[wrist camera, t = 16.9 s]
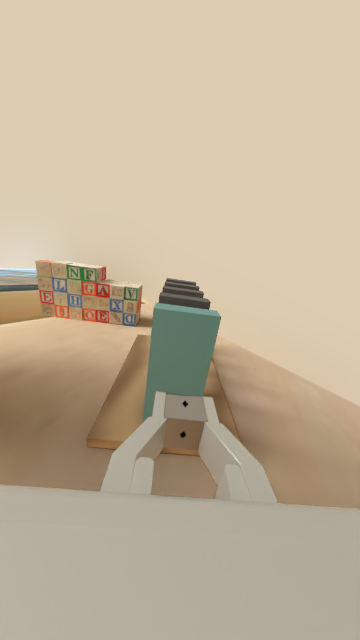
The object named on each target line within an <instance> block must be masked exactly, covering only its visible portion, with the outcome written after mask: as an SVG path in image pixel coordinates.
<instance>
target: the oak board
mask: <svg viewBox="0 0 360 640" xmlns="http://www.w3.org/2000/svg"><path fill="white" fill-rule="evenodd" d="M150 342H151V336H146V335H138V336H137V338H136V340H135V342H134V344H133V346H132V348H131V350H130V352H129V354H128V356H127V358H126V360H125V362H124V364H123V366H122V368H121V370H120V372H119V374H118V376H117V378H116V380H115V382H114V384H113V386H112V388H111V390H110V392H109V394H108V396H107V398H106V400H105V402H104V404H103V407H102V409H101V411H100V413H99V415H98V417H97V419H96V421H95V423H94V425H93V427H92V429H91V431H90V433H89V435H88V437H87V447H97V448H110V449H117V448H118V447H119V446H120V445H121V444H122V443H123V442H124V441H125V440H126V439H127V438H128V437H129V436H130V435H131V434H132V433H133V432H134V431H135V430H136V429H137V428H138V427H139V426H140V425H141V424H142V422H143V412H144V402H145V392H146V382H147V372H148V362H149V352H150ZM203 396H205V397H212V398H213V401H214V405H215V408H216V412H217V416H218V420H219V423H221V424H223V425H224V426H225V427H226V428H227V429H228V430H229V431H230V432H231V433H232V434H233V435H234V436H235V437H236V439H237V440H238V441H239V442H240V443H241V441H240V438H239V435H238V432H237V430H236V427H235V424H234V421H233V418H232V415H231V412H230V410H229V407H228V404H227V401H226V398H225V395H224V392H223V390H222V387H221V384H220V381H219V378H218V375H217V372H216V370H215V367H214V364H213V361H212V359H211V363H210V368H209V372H208V377H207V381H206V385H205V390H204V394H203ZM160 453H173V454H185V455H198V456H200V455H199V453H198V451H196V450H187V449H177V448H163V449H162V450H161V452H160Z"/></svg>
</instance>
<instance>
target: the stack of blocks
mask: <svg viewBox="0 0 360 640" xmlns="http://www.w3.org/2000/svg"><path fill="white" fill-rule="evenodd" d="M36 269H37V279H38V287H39V292H40V300H41V309H42V315H45V316H53V317H60V318H68V319H76V320H85V321H94V322H103V323H112V324H120V325H128V326H136V324H137V323H138V321H139V319H140V308H141V295H142V284H136V283H129V282H123V281H114V280H105V279H106V267H103V266H96V265H90V264H82V263H73V262H65V261H58V260H39V261H36Z"/></svg>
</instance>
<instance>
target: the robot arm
mask: <svg viewBox="0 0 360 640" xmlns="http://www.w3.org/2000/svg"><path fill="white" fill-rule="evenodd" d="M163 448H177V449H187V450H196V451H198V453H199V455H200V457H201V458H202V460H203V462H204V464H205V465H206V467H207V469H208V470H209V472H210V474H211V476H212V477H213V479H214V481H215V482H216V484H217V486H218V489H217V492H216V495H215V498H214V499H209V498H194V497H179V496H164V495H151V488H152V478H153V468H154V461H155V460H156V458H157V457H158V455H159V454H160V452H161V450H162V449H163ZM0 640H360V509H358V508H343V507H328V506H313V505H298V504H284V503H278V502H277V499H276V497H275V494H274V492H273V490H272V487H271V485H270V482H269V480H268V477H267V475H266V473H265V470H264V468H263V466H262V465H261V464H260V463H259V462H258V461H257V460H256V459H255V457H254V456H253V455H252V454H251V453H250V452H249V451H248V450H247V449H246V448H245V447H244V446H243V445H242V444H241V443H240V442H239V441H238V440H237V439H236V437H235V436H234V435H233V434H232V433H231V432H230V431H229V430H228V429H227V428H226V427H225V426H224V425H223V424H221V423H219V420H218V416H217V412H216V408H215V405H214V401H213V398H212V397H205V396H193V395H183V394H175V393H168V392H166V393H165V392H158V391H156V394H155V401H154V408H153V414H152V417H148V418H147V419H146V420H145V421H144V422H143V423H142V424H141V425H140V426H139V427H138V428H137V429H136V430H135V431H134V432H133V433H132V434H131V435H130V436H129V437H128V438H127V439H126V440H125V441H124V442H123V443H122V444H121V445H120V446H119V447H118V448H117V449H116V450H115V451H114V452H113V453H112V456H111V459H110V462H109V465H108V468H107V471H106V474H105V477H104V480H103V483H102V486H101V489H100V491H90V490H76V489H61V488H46V487H31V486H17V485H2V484H0Z"/></svg>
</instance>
